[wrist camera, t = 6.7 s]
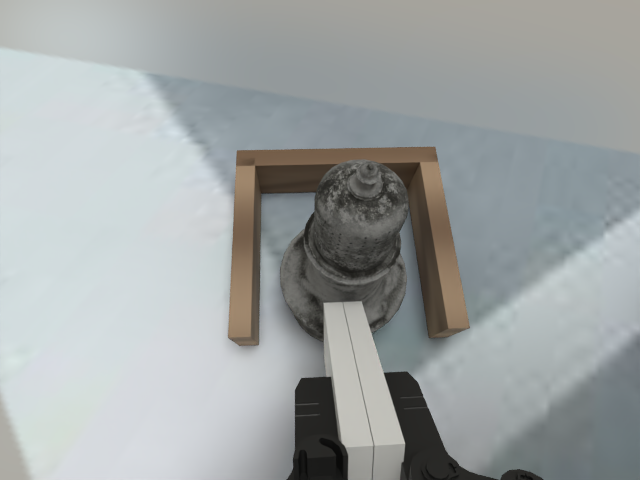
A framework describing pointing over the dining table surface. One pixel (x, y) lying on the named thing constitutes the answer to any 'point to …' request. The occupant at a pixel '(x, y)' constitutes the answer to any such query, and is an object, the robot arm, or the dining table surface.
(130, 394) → the dining table surface
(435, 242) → the pocket
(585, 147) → the dining table surface
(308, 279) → the chess piece
